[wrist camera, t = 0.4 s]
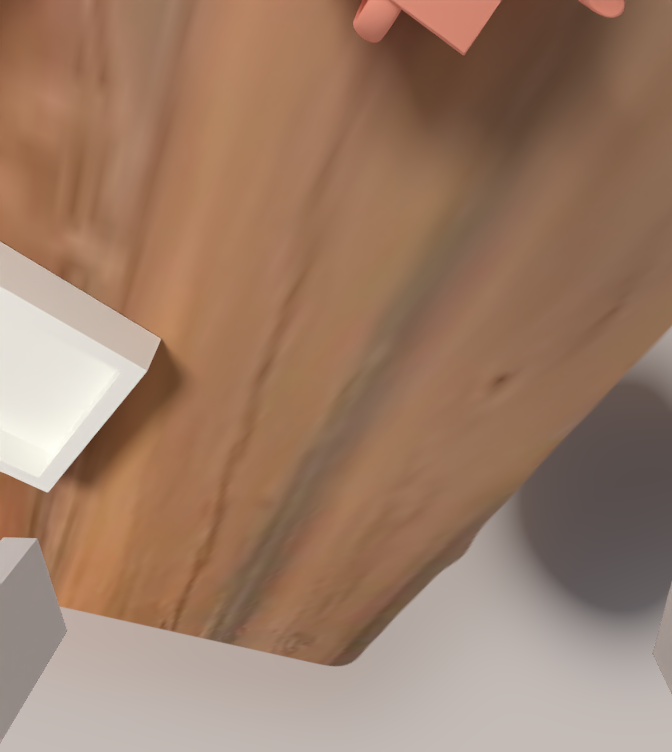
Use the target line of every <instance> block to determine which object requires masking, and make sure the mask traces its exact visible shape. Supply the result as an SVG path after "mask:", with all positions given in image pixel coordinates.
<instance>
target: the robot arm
mask: <svg viewBox="0 0 672 752" xmlns="http://www.w3.org/2000/svg"><path fill="white" fill-rule="evenodd" d="M66 632H67V630H66V626H65V623H64V620H63V617H62V614H61V611H60V608H59V604H58V601H57V598H56V595H55V592H54V589H53V586H52V583H51V579H50V576H49V573H48V570H47V567H46V564H45V561H44V558H43V554H42V551H41V548H40V545H39V542H38V539H37V538H5V537H3V539H2V540H1V541H0V743H1V741H2V739H3V738H4V736H5V734H6V733H7V731H8V729H9V728H10V726H11V724H12V723H13V721H14V719H15V718H16V716H17V714H18V712H19V711H20V709H21V708H22V706H23V704H24V702H25V701H26V699H27V698H28V696H29V694H30V692H31V691H32V689H33V687H34V686H35V684H36V682H37V681H38V679H39V677H40V676H41V674H42V672H43V671H44V669H45V667H46V666H47V664H48V662H49V661H50V659H51V657H52V656H53V654H54V652H55V651H56V649H57V647H58V645H59V644H60V642H61V641H62V639H63V637H64V636H65V634H66ZM653 655H654V657H655V659H656V661H657V664H658V666H659V668H660V670H661V672H662V674H663V677H664V678H665V681H666V683H667V685H668V687H669V689H670V691H671V693H672V583H671V586H670V590H669V594H668V598H667V602H666V605H665V609H664V613H663V616H662V620H661V624H660V628H659V631H658V635H657V639H656V643H655V646H654V650H653Z"/></svg>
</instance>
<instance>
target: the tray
mask: <svg viewBox="0 0 672 752" xmlns="http://www.w3.org/2000/svg"><path fill="white" fill-rule="evenodd" d="M160 341H161V338H159V337H157V336H156V335H154V334H152V333H151V332H149V331H147V330H146V329H144V328H142V327H141V326H139V325H138V324H136V323H134V322H133V321H131V320H129V319H128V318H126V317H124V316H123V315H121V314H119V313H118V312H116V311H114V310H113V309H111V308H109V307H108V306H106V305H104V304H103V303H101V302H100V301H98V300H96V299H95V298H93V297H91V296H90V295H88V294H86V293H85V292H83V291H81V290H80V289H78V288H76V287H75V286H73V285H71V284H70V283H68V282H66V281H65V280H63V279H61V278H60V277H58V276H57V275H55V274H53V273H52V272H50V271H48V270H47V269H45V268H43V267H42V266H40V265H38V264H37V263H35V262H33V261H32V260H30V259H28V258H27V257H25V256H23V255H22V254H20V253H18V252H17V251H15V250H14V249H12V248H10V247H9V246H7V245H5V244H4V243H2V242H0V471H1V472H3V473H5V474H8V475H10V476H12V477H14V478H16V479H19V480H21V481H23V482H25V483H27V484H30V485H32V486H34V487H36V488H39V489H41V490H43V491H45V492H47V493H48V492H49V490H50V489H51V488H52V487H53V486H54V484H55V483H56V482H57V481H58V479H59V478H60V477H61V476H62V475H63V473H64V472H65V471H66V470H67V468H68V467H69V466H70V465H71V464H72V462H73V461H74V460H75V459H76V457H77V456H78V455H79V454H80V453H81V451H82V450H83V449H84V448H85V447H86V445H87V444H88V443H89V442H90V440H91V439H92V438H93V437H94V436H95V434H96V433H97V432H98V431H99V429H100V428H101V427H102V426H103V425H104V423H105V422H106V421H107V420H108V418H109V417H110V416H111V415H112V414H113V412H114V411H115V410H116V409H117V407H118V406H119V405H120V404H121V403H122V401H123V400H124V399H125V398H126V396H127V395H128V394H129V393H130V392H131V390H132V389H133V388H134V387H135V385H136V384H137V383H138V382H139V381H140V379H141V378H142V377H143V376H144V374H145V373H146V372H147V371H148V368H149V366H150V364H151V362H152V359H153V357H154V355H155V352H156V350H157V348H158V346H159V343H160Z"/></svg>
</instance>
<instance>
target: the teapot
mask: <svg viewBox="0 0 672 752" xmlns="http://www.w3.org/2000/svg"><path fill="white" fill-rule="evenodd" d="M501 1H502V0H362V2H361V4H360V6H359V9H358V11H357V13H356V16H355V18H354V22H353V26H354V29H355V31H356V32H357V33H358V34H359V35H360V36H361V37H362V38H363V39H365V40H367V41H369V42H372V43H377V42H379V41H380V40H381V39H382V38H383V37H384V36H385V34H386V33H387V32H388V30H389V29H390V27H391V26H392V24H393V23H394V21H395V20H396V18H397V17H398V15H399V13H400V12H401V10H403V11H404V12H406V13H407V14H408V15H410V16H411V17H412V18H414V19H415V20H416V21H418V22H419V23H420V24H422V25H423V26H424V27H426V28H427V29H428V30H430V31H431V32H432V33H434V34H435V35H437V36H438V37H439V38H441V39H442V40H443V41H445V42H446V43H447V44H449V45H450V46H451V47H453V48H454V49H455V50H457V51H458V52H459V53H461V54H462V55H463V56H464V55H465V54H466V53H467V51H468V50H469V48H470V47H471V45H472V44H473V42H474V41H475V39H476V38H477V36H478V35H479V33H480V32H481V30H482V29H483V27H484V26H485V24H486V23H487V21H488V20H489V18H490V17H491V16H492V14H493V13H494V11H495V10H496V8H497V7H498V5H499V4H500V2H501ZM578 1H579V2H581V3H582V4H584V5H585V6H587V7H588V8H589V9H591V10H592V11H594V12H595V13H597V14H599V15H602V16H605V17H608V18H615V17H618V16H620V15H621V14H622V13H623V11H624V9H625V1H624V0H578Z"/></svg>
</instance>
